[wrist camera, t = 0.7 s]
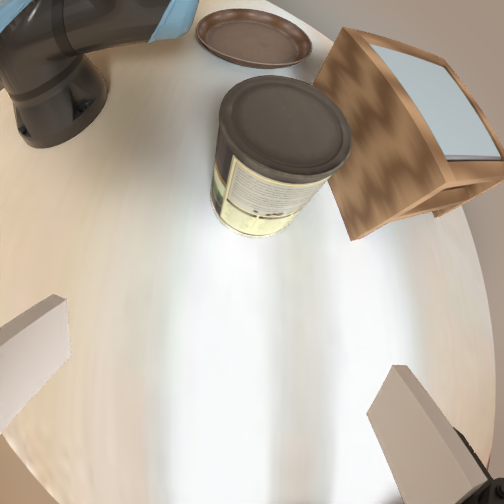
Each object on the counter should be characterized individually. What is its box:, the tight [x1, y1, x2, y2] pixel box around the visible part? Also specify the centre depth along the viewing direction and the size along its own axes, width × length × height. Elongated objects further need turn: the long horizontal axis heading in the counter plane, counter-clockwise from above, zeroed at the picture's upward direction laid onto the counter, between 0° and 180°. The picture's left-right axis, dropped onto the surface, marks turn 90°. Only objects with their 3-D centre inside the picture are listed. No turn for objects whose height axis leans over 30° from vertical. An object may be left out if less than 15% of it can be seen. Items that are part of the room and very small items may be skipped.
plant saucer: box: [196, 9, 312, 69], centre depth 39 cm, size 21×21×3 cm
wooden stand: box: [313, 27, 504, 241], centre depth 30 cm, size 20×20×16 cm
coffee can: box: [210, 75, 352, 238], centre depth 26 cm, size 10×10×14 cm
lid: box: [369, 44, 501, 162], centre depth 22 cm, size 15×15×1 cm
